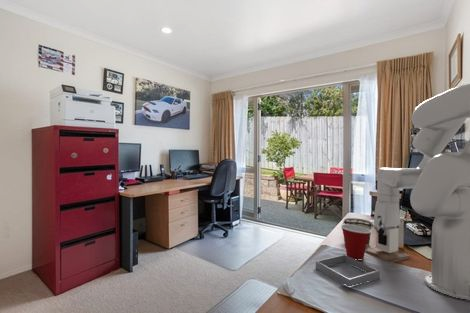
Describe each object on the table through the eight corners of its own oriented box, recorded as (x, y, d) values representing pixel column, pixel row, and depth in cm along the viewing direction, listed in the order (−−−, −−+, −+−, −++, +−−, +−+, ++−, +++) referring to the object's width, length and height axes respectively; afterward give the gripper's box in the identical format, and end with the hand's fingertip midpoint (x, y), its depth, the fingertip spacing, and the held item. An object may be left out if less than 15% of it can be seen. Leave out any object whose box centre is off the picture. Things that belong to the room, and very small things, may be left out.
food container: (371, 241, 113) (372, 219, 113) (373, 245, 108) (373, 223, 108) (343, 237, 119) (343, 216, 119) (342, 241, 113) (343, 219, 113)
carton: (398, 250, 96) (398, 228, 96) (389, 253, 94) (389, 230, 94) (384, 246, 101) (384, 224, 101) (375, 248, 99) (376, 226, 99)
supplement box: (404, 248, 104) (404, 218, 104) (391, 247, 105) (392, 217, 105) (395, 242, 112) (395, 213, 112) (384, 241, 113) (384, 213, 113)
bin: (379, 278, 79) (379, 270, 79) (349, 288, 73) (349, 279, 73) (343, 261, 91) (343, 254, 91) (315, 268, 85) (315, 261, 85)
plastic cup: (378, 262, 90) (378, 230, 90) (352, 264, 88) (353, 232, 88) (357, 251, 101) (358, 222, 101) (334, 253, 99) (335, 223, 99)
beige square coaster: (410, 257, 95) (410, 255, 95) (392, 262, 90) (392, 260, 90) (382, 248, 105) (382, 245, 105) (365, 252, 100) (365, 249, 100)
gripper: (391, 195, 104) (391, 237, 104) (365, 198, 97) (364, 243, 97) (410, 198, 98) (410, 243, 98) (383, 201, 90) (382, 249, 90)
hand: (387, 242), depth 97 cm, fingers closed on carton, 5 cm apart
